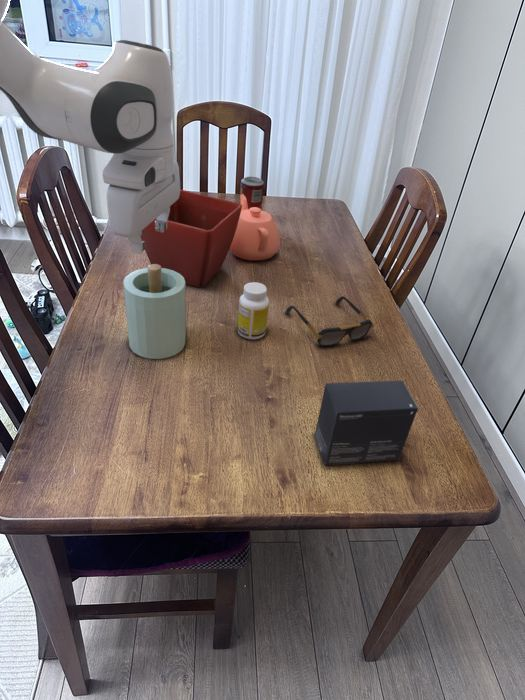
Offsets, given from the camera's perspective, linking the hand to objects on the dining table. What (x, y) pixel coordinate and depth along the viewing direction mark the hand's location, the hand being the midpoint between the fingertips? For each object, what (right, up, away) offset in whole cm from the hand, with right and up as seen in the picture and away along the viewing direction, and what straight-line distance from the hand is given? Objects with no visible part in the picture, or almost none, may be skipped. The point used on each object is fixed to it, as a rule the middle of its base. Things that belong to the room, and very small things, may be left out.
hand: (150, 240), depth 86 cm
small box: (+35, -36, -5) cm, 51 cm away
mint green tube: (-2, -18, +13) cm, 22 cm away
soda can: (+16, +22, +68) cm, 74 cm away
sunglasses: (+35, -14, +24) cm, 44 cm away
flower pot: (+1, 0, +37) cm, 37 cm away
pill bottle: (+17, -16, +19) cm, 30 cm away
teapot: (+17, +9, +50) cm, 54 cm away
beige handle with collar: (-1, -17, +12) cm, 21 cm away
